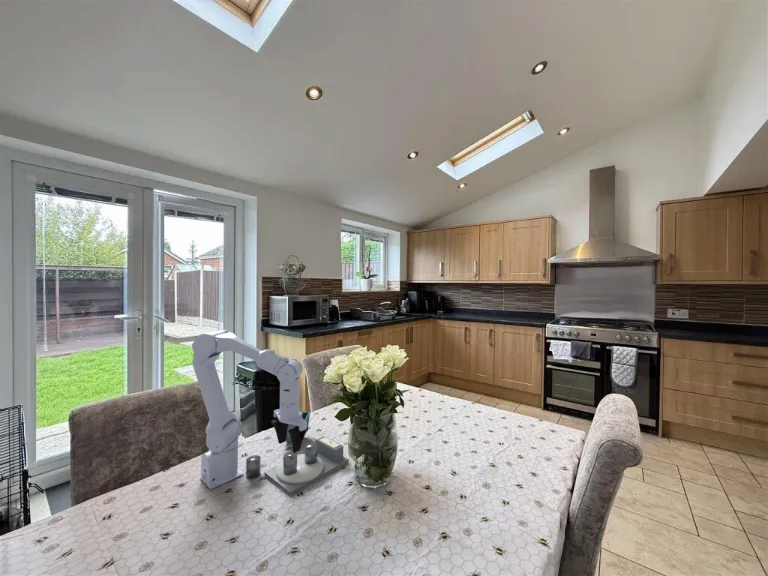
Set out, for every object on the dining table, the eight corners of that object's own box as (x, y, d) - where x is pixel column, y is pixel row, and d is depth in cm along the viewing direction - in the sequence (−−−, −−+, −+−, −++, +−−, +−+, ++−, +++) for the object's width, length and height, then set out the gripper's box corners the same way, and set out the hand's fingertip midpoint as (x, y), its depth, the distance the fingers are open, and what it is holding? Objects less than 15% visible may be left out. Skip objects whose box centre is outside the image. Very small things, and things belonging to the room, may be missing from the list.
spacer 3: (309, 466, 97) (309, 450, 97) (301, 461, 100) (302, 445, 100) (319, 460, 100) (320, 445, 100) (312, 456, 103) (312, 441, 103)
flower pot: (303, 446, 113) (304, 421, 113) (279, 445, 114) (280, 421, 113) (310, 434, 122) (310, 411, 122) (287, 434, 122) (287, 411, 122)
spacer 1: (250, 480, 93) (250, 464, 93) (243, 475, 96) (243, 459, 96) (262, 474, 96) (262, 458, 96) (256, 469, 99) (256, 453, 99)
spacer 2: (288, 477, 92) (289, 460, 92) (280, 472, 94) (280, 455, 94) (299, 470, 95) (300, 454, 95) (291, 466, 97) (291, 450, 97)
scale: (290, 496, 87) (290, 476, 87) (264, 475, 96) (264, 457, 96) (348, 463, 103) (349, 446, 103) (322, 448, 112) (322, 432, 112)
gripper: (315, 404, 92) (315, 450, 92) (288, 392, 102) (287, 434, 102) (295, 411, 87) (294, 459, 87) (267, 398, 96) (267, 442, 96)
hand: (289, 446), depth 94 cm, fingers open, 7 cm apart
